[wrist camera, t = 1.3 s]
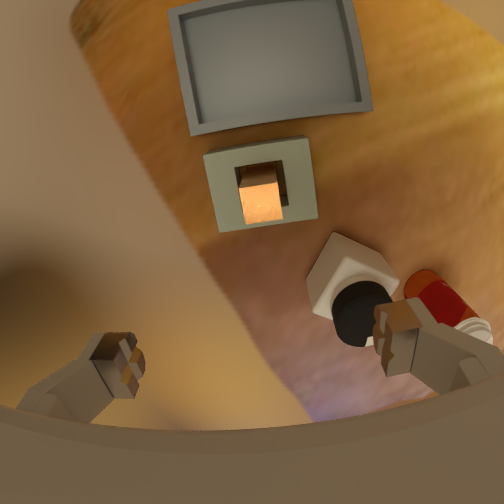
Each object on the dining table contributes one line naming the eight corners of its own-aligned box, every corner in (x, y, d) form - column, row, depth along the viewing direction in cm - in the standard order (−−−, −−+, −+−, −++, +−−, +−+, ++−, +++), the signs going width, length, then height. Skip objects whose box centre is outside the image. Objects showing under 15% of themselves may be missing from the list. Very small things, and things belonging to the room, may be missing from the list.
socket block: (303, 135, 32) (308, 138, 29) (312, 206, 35) (318, 218, 32) (209, 150, 33) (202, 155, 30) (224, 219, 36) (219, 232, 33)
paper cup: (440, 306, 40) (484, 372, 28) (393, 315, 41) (429, 388, 28) (448, 258, 37) (504, 317, 24) (398, 264, 38) (446, 332, 25)
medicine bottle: (304, 279, 39) (316, 344, 28) (332, 229, 36) (358, 282, 26) (352, 299, 40) (376, 362, 29) (381, 253, 37) (419, 308, 26)
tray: (341, -7, 25) (347, -16, 22) (364, 110, 31) (373, 111, 28) (174, 17, 27) (167, 9, 24) (197, 134, 33) (190, 136, 30)
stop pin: (274, 162, 34) (277, 182, 24) (278, 189, 35) (282, 218, 26) (246, 166, 34) (238, 188, 25) (251, 193, 35) (245, 224, 26)
